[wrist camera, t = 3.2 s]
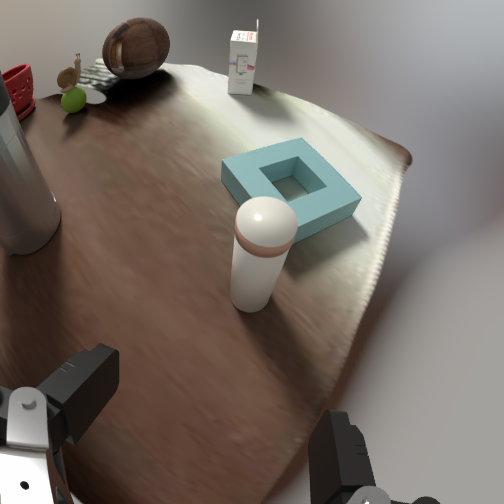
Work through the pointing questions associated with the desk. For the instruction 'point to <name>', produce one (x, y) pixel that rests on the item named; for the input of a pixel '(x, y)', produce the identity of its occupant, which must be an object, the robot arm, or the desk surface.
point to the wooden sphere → (136, 48)
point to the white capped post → (260, 250)
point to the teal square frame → (304, 171)
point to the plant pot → (20, 89)
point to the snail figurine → (71, 88)
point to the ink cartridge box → (242, 62)
